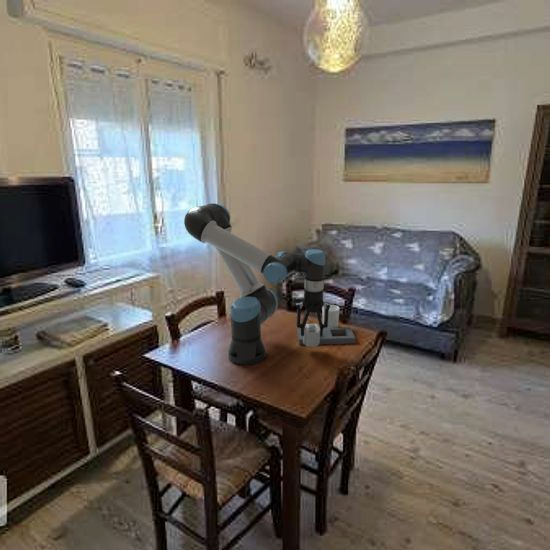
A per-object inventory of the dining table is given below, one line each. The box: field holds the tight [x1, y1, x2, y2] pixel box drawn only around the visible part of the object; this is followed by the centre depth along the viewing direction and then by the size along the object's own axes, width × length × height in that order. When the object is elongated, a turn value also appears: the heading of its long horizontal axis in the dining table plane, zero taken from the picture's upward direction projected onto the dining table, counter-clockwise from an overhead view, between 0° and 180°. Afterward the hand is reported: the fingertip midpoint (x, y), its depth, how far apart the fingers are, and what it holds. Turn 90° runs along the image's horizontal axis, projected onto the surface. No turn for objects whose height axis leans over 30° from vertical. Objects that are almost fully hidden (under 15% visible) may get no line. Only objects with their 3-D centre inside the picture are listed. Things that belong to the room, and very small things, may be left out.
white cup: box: [321, 304, 340, 328], centre depth 186 cm, size 8×8×10 cm
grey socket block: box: [296, 323, 356, 346], centre depth 176 cm, size 24×11×6 cm, turn 92°
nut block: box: [304, 328, 319, 347], centre depth 163 cm, size 5×5×6 cm
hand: (311, 342), depth 164 cm, fingers closed on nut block, 5 cm apart
